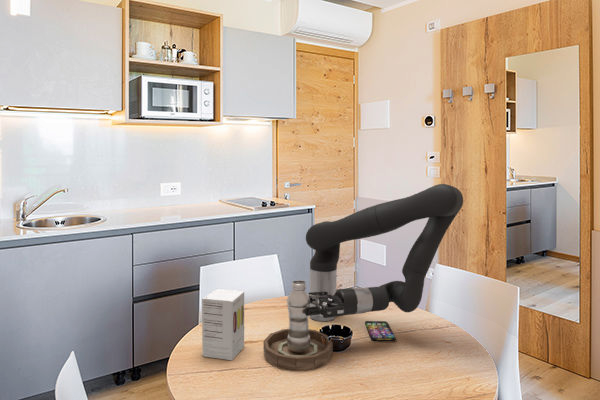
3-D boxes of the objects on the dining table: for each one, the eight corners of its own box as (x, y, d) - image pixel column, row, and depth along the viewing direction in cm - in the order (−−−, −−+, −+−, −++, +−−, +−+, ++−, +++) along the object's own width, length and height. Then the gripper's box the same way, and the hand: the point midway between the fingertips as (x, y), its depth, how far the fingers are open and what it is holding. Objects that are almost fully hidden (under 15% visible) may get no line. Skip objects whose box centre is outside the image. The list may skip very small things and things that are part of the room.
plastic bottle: (308, 356, 118) (308, 286, 116) (284, 354, 120) (284, 285, 117) (312, 346, 125) (312, 279, 122) (289, 344, 126) (289, 277, 123)
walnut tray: (300, 333, 135) (300, 323, 135) (345, 355, 122) (345, 343, 121) (250, 352, 123) (250, 340, 122) (294, 378, 109) (295, 365, 108)
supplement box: (232, 361, 117) (232, 301, 116) (201, 357, 120) (200, 298, 118) (245, 346, 127) (245, 290, 125) (216, 342, 129) (215, 287, 127)
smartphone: (387, 321, 145) (397, 340, 130) (387, 323, 145) (397, 343, 130) (364, 320, 145) (371, 340, 130) (364, 323, 145) (371, 343, 130)
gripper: (344, 281, 132) (293, 285, 127) (364, 296, 118) (308, 301, 114) (343, 304, 133) (293, 310, 128) (363, 322, 119) (308, 329, 114)
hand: (300, 306), depth 121 cm, fingers open, 8 cm apart
